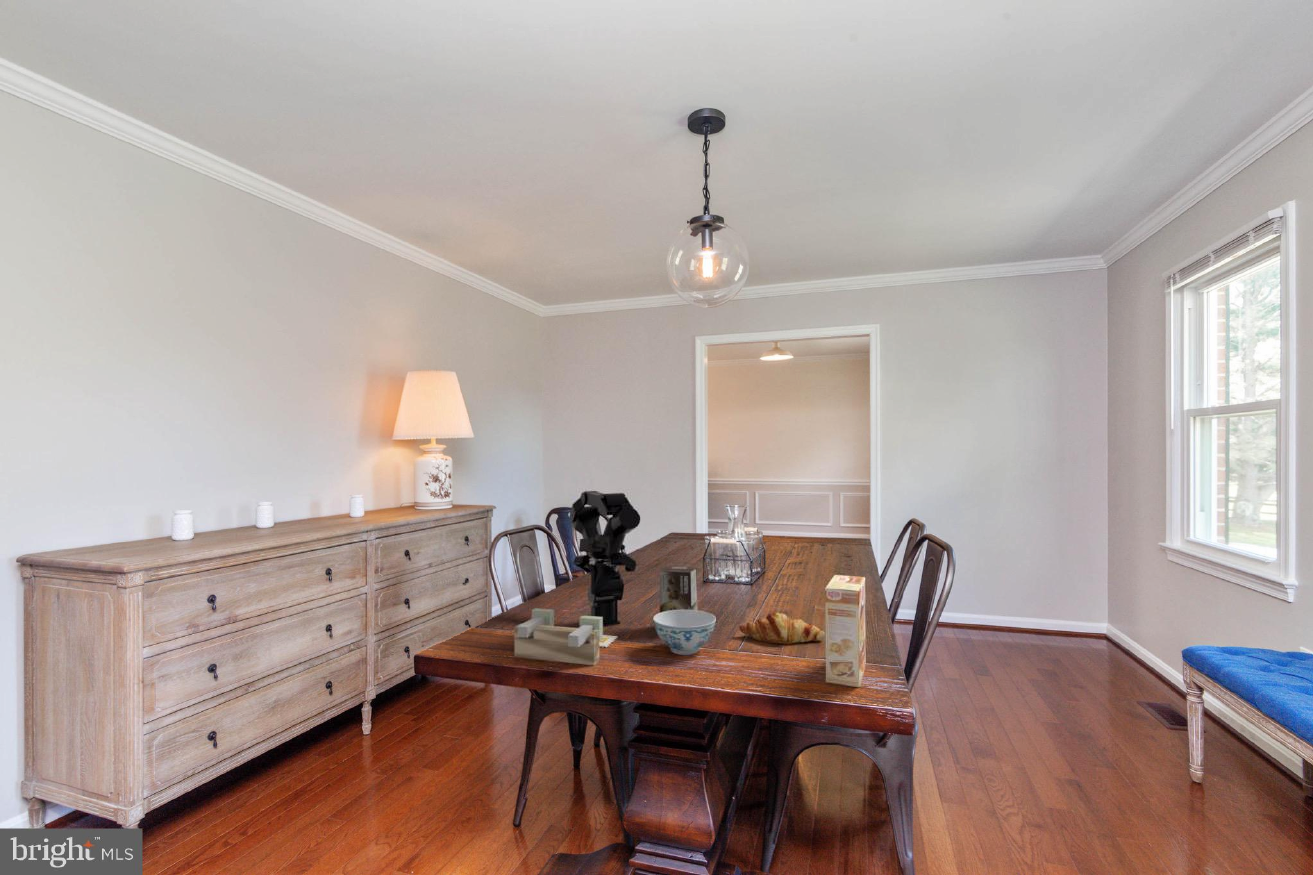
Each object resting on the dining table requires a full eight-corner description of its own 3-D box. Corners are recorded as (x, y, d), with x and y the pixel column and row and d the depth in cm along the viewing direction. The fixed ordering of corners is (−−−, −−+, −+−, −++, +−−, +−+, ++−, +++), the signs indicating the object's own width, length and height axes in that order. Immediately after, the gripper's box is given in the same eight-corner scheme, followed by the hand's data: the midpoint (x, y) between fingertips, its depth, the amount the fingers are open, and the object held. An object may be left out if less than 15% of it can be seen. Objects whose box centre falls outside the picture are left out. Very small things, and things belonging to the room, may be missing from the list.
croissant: (823, 651, 158) (822, 619, 162) (827, 644, 149) (826, 610, 153) (739, 645, 161) (740, 614, 165) (738, 638, 153) (739, 605, 156)
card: (574, 634, 162) (574, 631, 162) (617, 637, 159) (617, 635, 159) (560, 643, 155) (560, 641, 155) (605, 647, 151) (605, 645, 151)
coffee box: (698, 627, 168) (698, 567, 168) (692, 634, 162) (691, 571, 162) (666, 624, 171) (665, 565, 171) (658, 631, 164) (658, 569, 165)
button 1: (535, 628, 154) (535, 608, 154) (554, 630, 152) (553, 609, 153) (512, 642, 143) (512, 620, 143) (532, 643, 142) (532, 621, 142)
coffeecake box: (860, 688, 125) (859, 590, 125) (824, 682, 128) (823, 587, 128) (867, 663, 139) (866, 576, 139) (834, 659, 142) (833, 573, 142)
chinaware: (676, 665, 139) (675, 630, 139) (641, 647, 151) (641, 615, 152) (729, 653, 147) (728, 620, 147) (692, 636, 159) (691, 606, 160)
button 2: (583, 636, 147) (582, 615, 147) (602, 638, 146) (602, 616, 146) (562, 651, 136) (562, 628, 137) (583, 653, 135) (583, 630, 135)
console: (521, 652, 148) (520, 623, 148) (599, 660, 142) (599, 629, 142) (514, 657, 145) (514, 626, 145) (594, 665, 139) (594, 633, 139)
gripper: (568, 526, 165) (547, 581, 157) (616, 520, 153) (595, 580, 145) (598, 545, 171) (578, 599, 163) (645, 541, 159) (627, 599, 151)
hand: (593, 594), depth 155 cm, fingers closed
